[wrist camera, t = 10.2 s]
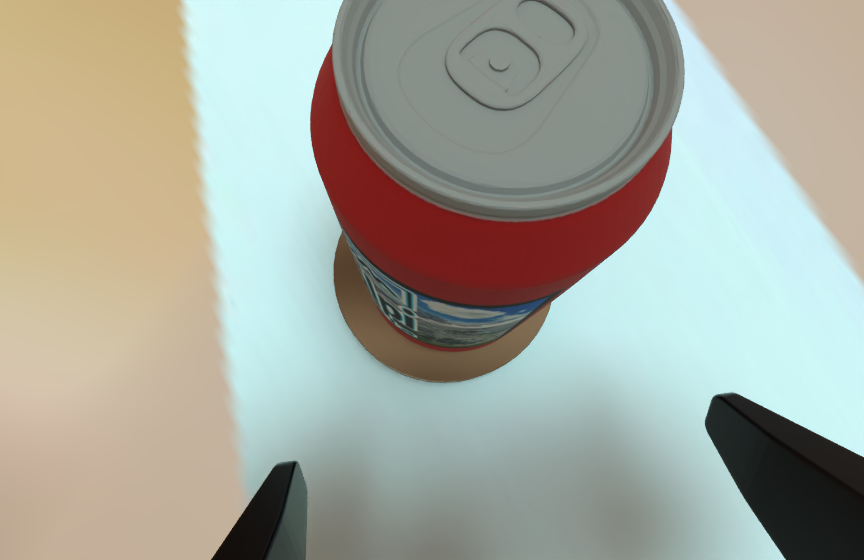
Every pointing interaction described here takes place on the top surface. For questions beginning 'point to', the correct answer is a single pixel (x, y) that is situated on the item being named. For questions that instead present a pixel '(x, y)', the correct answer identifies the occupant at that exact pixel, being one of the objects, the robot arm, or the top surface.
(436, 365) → the coaster
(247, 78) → the top surface
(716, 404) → the robot arm
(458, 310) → the beverage can
